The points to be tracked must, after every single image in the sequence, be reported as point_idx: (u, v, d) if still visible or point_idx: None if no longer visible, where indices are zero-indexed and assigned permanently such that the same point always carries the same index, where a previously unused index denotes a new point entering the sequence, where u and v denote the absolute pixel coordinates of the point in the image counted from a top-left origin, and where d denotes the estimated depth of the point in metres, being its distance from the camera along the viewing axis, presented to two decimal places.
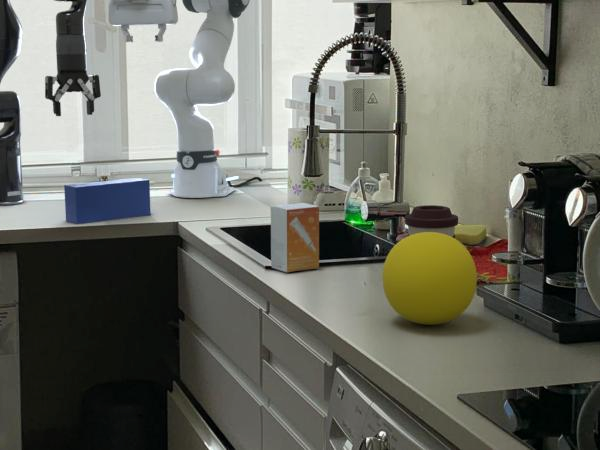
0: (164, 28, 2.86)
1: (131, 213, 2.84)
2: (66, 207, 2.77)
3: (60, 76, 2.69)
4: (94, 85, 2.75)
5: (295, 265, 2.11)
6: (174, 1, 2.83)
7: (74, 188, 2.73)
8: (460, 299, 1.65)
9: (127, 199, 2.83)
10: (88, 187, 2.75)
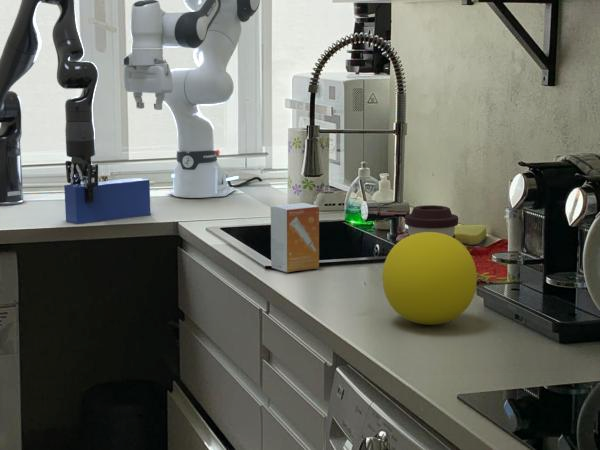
0: (161, 97, 2.88)
1: (131, 213, 2.84)
2: (66, 207, 2.77)
3: (71, 160, 2.78)
4: None
5: (295, 265, 2.11)
6: (166, 71, 2.84)
7: (74, 188, 2.73)
8: (460, 299, 1.65)
9: (127, 199, 2.82)
10: None
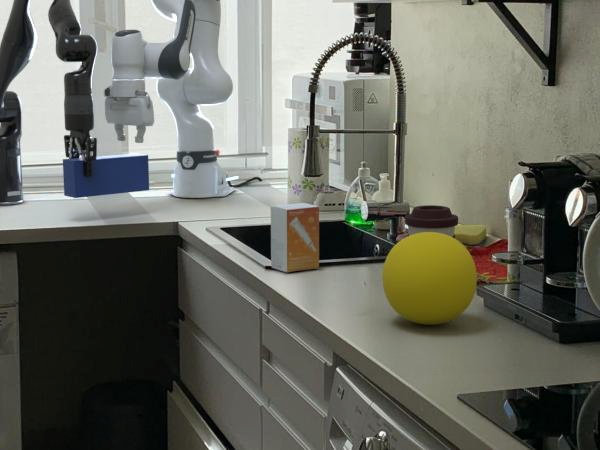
0: (142, 129, 2.79)
1: (130, 188, 2.83)
2: (64, 181, 2.76)
3: None
4: None
5: (295, 265, 2.11)
6: (147, 103, 2.75)
7: (73, 162, 2.71)
8: (460, 299, 1.65)
9: (126, 174, 2.81)
10: None
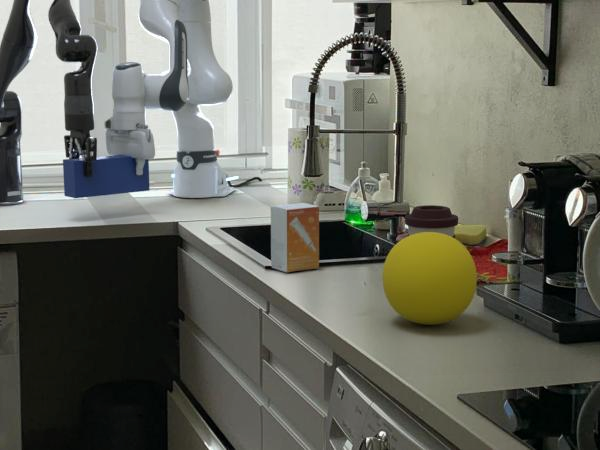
0: (141, 162, 2.81)
1: (130, 189, 2.83)
2: (65, 182, 2.76)
3: (70, 135, 2.77)
4: None
5: (295, 265, 2.11)
6: (148, 136, 2.76)
7: (73, 162, 2.71)
8: (460, 299, 1.65)
9: (126, 174, 2.81)
10: None
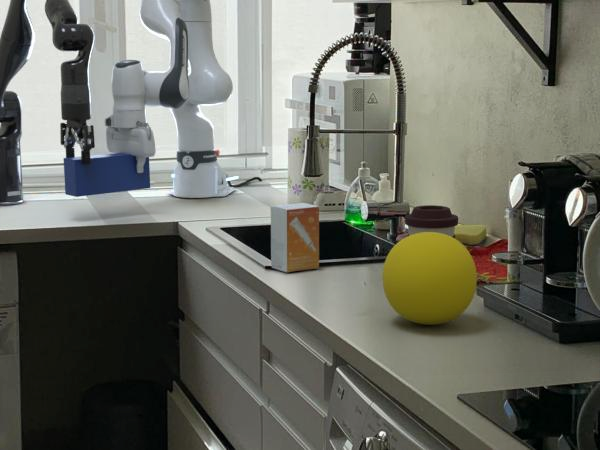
0: (142, 159, 2.81)
1: (131, 186, 2.83)
2: (65, 180, 2.76)
3: (66, 124, 2.76)
4: None
5: (295, 265, 2.11)
6: (148, 134, 2.76)
7: (73, 161, 2.72)
8: (460, 299, 1.65)
9: (126, 172, 2.82)
10: None
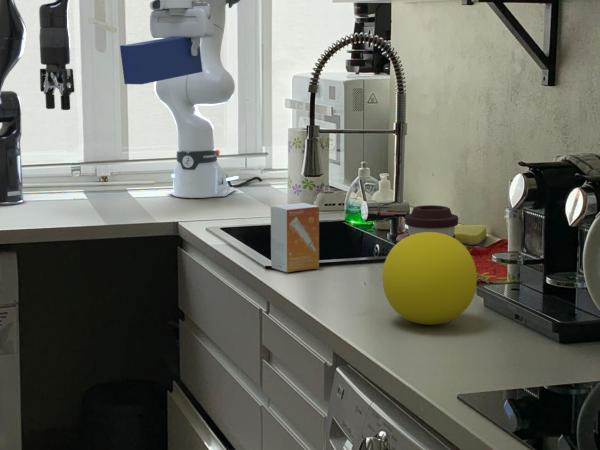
0: (198, 41, 2.73)
1: (186, 71, 2.74)
2: (124, 69, 2.64)
3: (46, 69, 2.70)
4: None
5: (295, 265, 2.11)
6: (208, 13, 2.68)
7: (135, 46, 2.60)
8: (460, 299, 1.65)
9: (181, 56, 2.72)
10: (148, 45, 2.62)
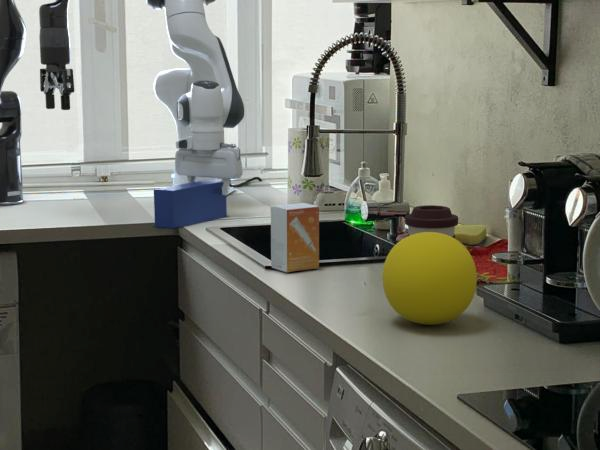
0: (228, 182, 2.77)
1: (213, 216, 2.79)
2: (156, 212, 2.68)
3: (46, 69, 2.70)
4: None
5: (295, 265, 2.11)
6: (238, 156, 2.74)
7: (170, 192, 2.64)
8: (460, 299, 1.65)
9: (210, 201, 2.77)
10: (182, 190, 2.67)
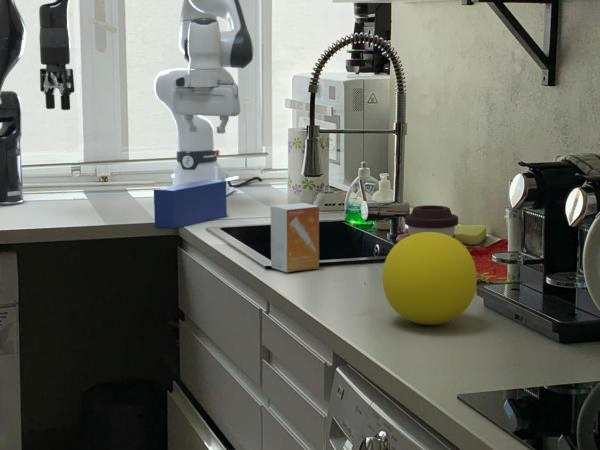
0: (226, 119, 2.74)
1: (213, 216, 2.79)
2: (156, 212, 2.68)
3: (46, 69, 2.70)
4: None
5: (295, 265, 2.11)
6: (236, 92, 2.71)
7: (170, 192, 2.64)
8: (460, 299, 1.65)
9: (210, 201, 2.77)
10: (182, 190, 2.67)
